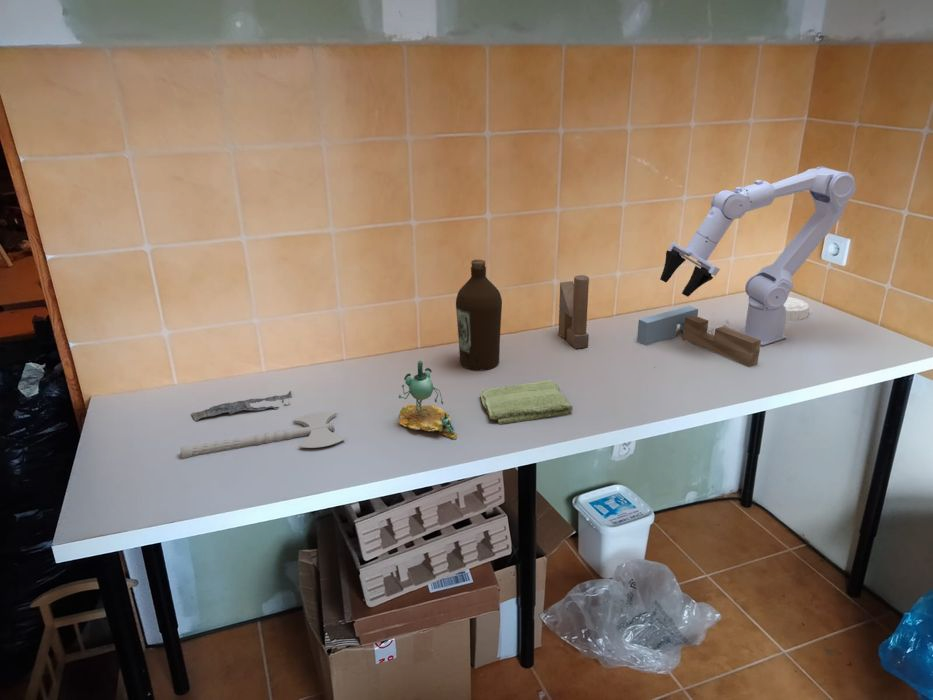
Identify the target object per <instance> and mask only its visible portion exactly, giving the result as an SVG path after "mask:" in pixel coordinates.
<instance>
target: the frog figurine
mask: <svg viewBox="0 0 933 700" xmlns="http://www.w3.org/2000/svg"><path fill="white" fill-rule="evenodd" d="M423 367H424V366H423V360H418V361H417V374H415V375H414V377H411V376H412V375H411V373H407V374H405V376H404V378H403V379H404V381H405V384H404V383H403V384H402V385H401V388H402V393H403V395H406V394H407V395H406V397H405V396H404V397H403V396H402V395H401V394H399V395H398V399H401V398H402V399H404V400H406V399H408V397H409V395H411V396H412V397H413V398H414V399H415V400H416V405H415V404H407V405H404V406H403V407H401V410H399V413H398V414H399V419H398V422H399V425H401V426H403V427H404V428H409V429H411V430H415V431H417V430H420V431H421V430H423V431H425V432H426V431H427V432H435V431H439V435H443V436H445V438H449V439H453V440H456V439H457V438H458V436H457V435H458V434H457V433H456V432H455V429H454V426H453V424H452V419H451V417H450V414H448V412H447V411H444V410H443V409H442V408H441V407H436V405H426V404H424V405H422V402H423V401H424V400H427V399H429V398H430V397H431V396H432V393H433V392H434V391H435V393H436V394H437V395H436V397H435V398H434V403H437V402H438V396H439V395H440V403H441V404H442V405H444V401H443V398H442V393H441V390H440V389H438V388H436V387H435V386H434V385H433V381H432V379H431V374H430V373H432V372H433V371H432V369H431V368H429V367H426V368H425V369H424V371H425V372H424V371H423ZM427 371H428V372H427ZM405 385H406V386H408V391H406V392H405V389H404V388H405ZM438 392H439V393H438ZM444 426H445V428H444Z"/></svg>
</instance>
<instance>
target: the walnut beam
mask: <svg viewBox="0 0 933 700" xmlns="http://www.w3.org/2000/svg"><path fill="white" fill-rule="evenodd" d="M708 325H709V320H708V319H705V318H703V317H700V316H695V315H692V316H689V317H685V325H684V331H683V335H682V340H683V341H686V342H687V343H690V344H693V345H695V346H698V347H700V348H702V349H705V350H707V351H710V352H712V353H715V354H717V355H720V356H722V357H724V358H726V359H729V360H731V361H734V362H735V363H739V364H741V365H743V366H745V367H748V368H750V367H752V366H755V365H756V366H757V365H758V363H759V358H760V357H759V356H760V350H761V345H760V344H761V340H759V339H757V338H754V337H751V336H749V335H746V334H743V333H742V332H740V331H738V330H735V329H732V328H729V327H727V326H725V325H723V326H719V327H716V328H714V334H712V333H709V332H708V328H709V327H708Z"/></svg>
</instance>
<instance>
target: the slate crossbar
mask: <svg viewBox="0 0 933 700" xmlns="http://www.w3.org/2000/svg"><path fill="white" fill-rule="evenodd" d="M698 314H699V308H697V307H694V306H691V305H686V306H683V307H680V308H676V309H672V310H668V311H665V312H661V313H658V314H655V315H650V316H647V317H643V318H640V319H639V318H638V326H637V339H636V342H637V343H639V344H641V345H644V346H649V345H652V344H655V343H659V342H661V341H665V340H668V339H672V338H675V337H677V329H678V325H679V330H681V331H683V332H684V325H685V317H689V316H692V315H695V316H698ZM698 317H699V316H698Z"/></svg>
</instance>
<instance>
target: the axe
mask: <svg viewBox="0 0 933 700" xmlns="http://www.w3.org/2000/svg"><path fill="white" fill-rule="evenodd" d="M338 414H339V413H337V412H329V411H328V412H326V411H323V412H315V413H310V414H305V415H302V416H299V417H298V418H295V419H294V420H292V422H293V423H297V424H299V425H303V426H304V427H299V428H294V429H290V428H287V429H285V430H282V431H281V430H276V431H274V432H266V433H264V434H259V433H258V434H255V435H252V436H246V437H237V438H234V439H226V440H223V441H215V442H213V443H212V442H211V443H204V444H200V445H198V444H197V445H196V444H195V445H183V446H180V455H181V458H182V459H187V458H191V457H194V456H195V457H197V456H200V455H207V454H211V453H217V452H222V451H229V450H233V449H240V448H244V447H249V446H259V445H263V444H271V443H273V442H281V441H284V440H286V441H287V440H292V439H295V438H301V437H306V439H305V440H304V441H303V442H301V443H300V444H299V445H298V446H297V447H298V448H305V449H316V448H323V447H328V446H332V445H336V444H338V443H340V442H342V441H344V440H345V439H347V437H345V436H342V435H339V434H338V433H337V434H336V433H334V432H335V428H336V427H335V424H334V422H333V421H331V420H332V419H333V418H334V417H336V416H337V415H338ZM330 421H331V422H330ZM307 436H308V437H307Z"/></svg>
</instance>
